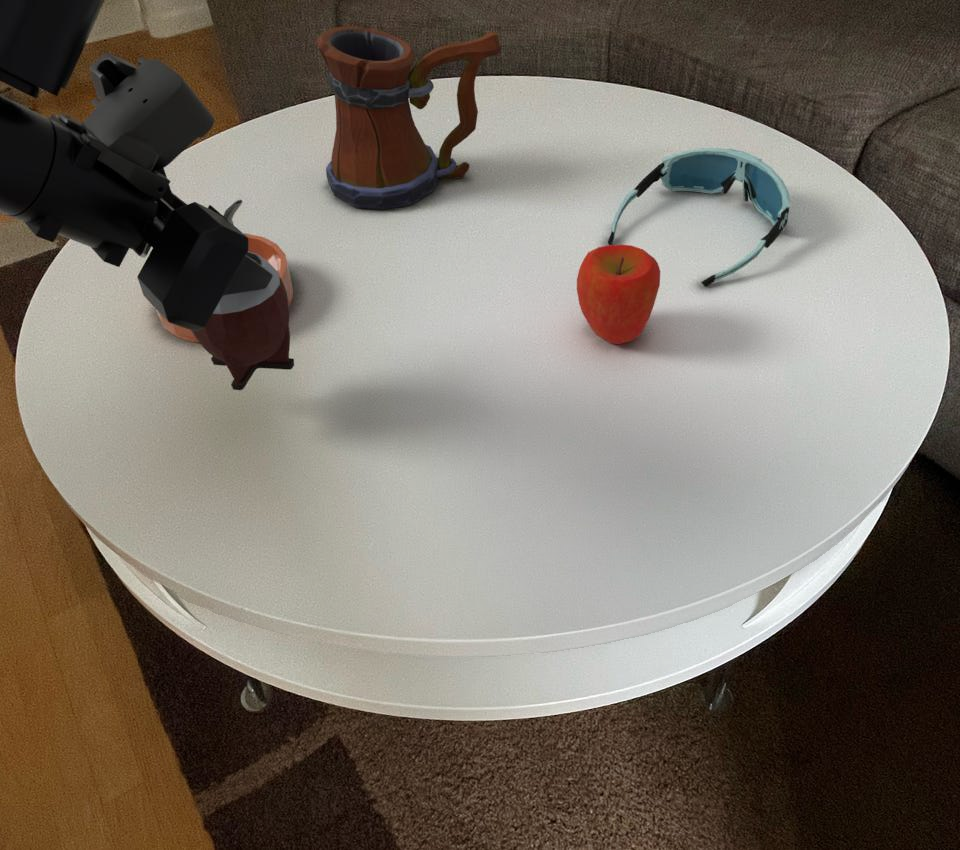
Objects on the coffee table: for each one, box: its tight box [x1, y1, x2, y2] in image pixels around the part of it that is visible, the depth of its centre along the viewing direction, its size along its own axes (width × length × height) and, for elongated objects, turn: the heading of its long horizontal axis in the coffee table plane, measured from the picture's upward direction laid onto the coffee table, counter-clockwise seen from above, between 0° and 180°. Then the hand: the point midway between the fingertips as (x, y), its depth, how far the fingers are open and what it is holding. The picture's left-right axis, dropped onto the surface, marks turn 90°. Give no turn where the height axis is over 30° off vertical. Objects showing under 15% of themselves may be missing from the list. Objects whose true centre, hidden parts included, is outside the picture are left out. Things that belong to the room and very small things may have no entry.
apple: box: [576, 244, 661, 345], centre depth 72 cm, size 6×6×8 cm
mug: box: [315, 25, 502, 210], centre depth 88 cm, size 18×12×15 cm, turn 93°
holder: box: [154, 232, 294, 344], centre depth 78 cm, size 12×12×3 cm
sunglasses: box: [607, 147, 792, 287], centre depth 83 cm, size 14×15×5 cm
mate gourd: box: [191, 199, 295, 391], centre depth 61 cm, size 8×8×15 cm
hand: (247, 262), depth 62 cm, fingers closed on mate gourd, 5 cm apart
